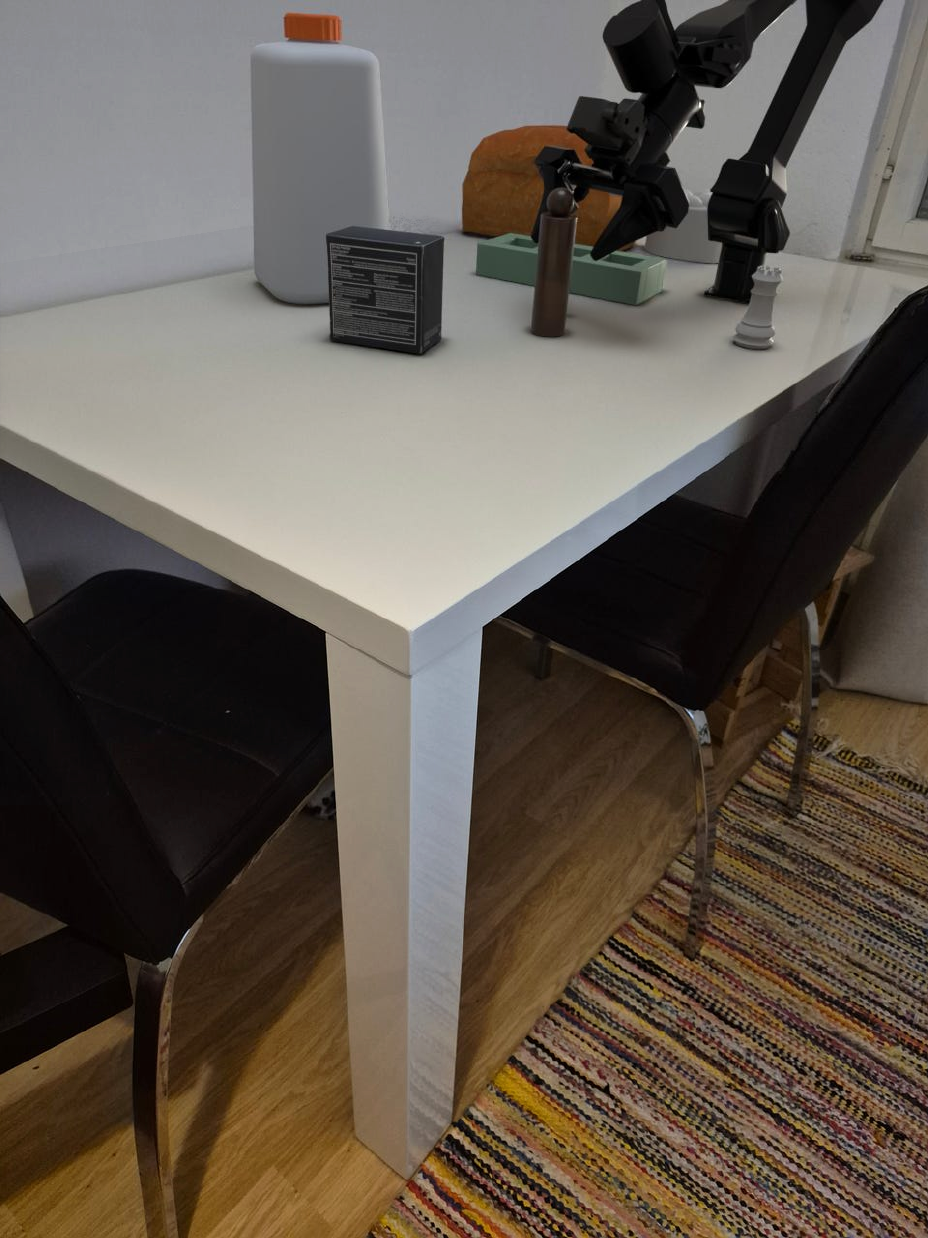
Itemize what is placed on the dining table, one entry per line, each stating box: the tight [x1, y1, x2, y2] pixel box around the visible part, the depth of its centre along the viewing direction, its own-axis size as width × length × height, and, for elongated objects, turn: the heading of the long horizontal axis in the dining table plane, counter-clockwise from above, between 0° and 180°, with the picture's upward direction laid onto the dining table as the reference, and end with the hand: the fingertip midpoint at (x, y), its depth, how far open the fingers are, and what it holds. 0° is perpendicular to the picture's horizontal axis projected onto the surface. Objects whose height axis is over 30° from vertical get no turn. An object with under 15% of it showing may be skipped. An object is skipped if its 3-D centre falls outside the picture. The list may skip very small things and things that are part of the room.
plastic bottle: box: [250, 12, 391, 305], centre depth 100 cm, size 15×15×28 cm
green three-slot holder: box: [475, 233, 668, 306], centre depth 115 cm, size 9×23×4 cm, turn 59°
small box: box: [326, 226, 445, 355], centre depth 89 cm, size 11×6×10 cm, turn 71°
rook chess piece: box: [732, 265, 784, 350], centre depth 95 cm, size 4×4×8 cm
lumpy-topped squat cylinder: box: [644, 188, 722, 264], centre depth 133 cm, size 10×13×9 cm
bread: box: [461, 124, 636, 252], centre depth 135 cm, size 16×27×16 cm, turn 62°
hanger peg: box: [530, 188, 577, 338], centre depth 93 cm, size 4×4×15 cm
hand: (562, 248), depth 93 cm, fingers open, 9 cm apart
